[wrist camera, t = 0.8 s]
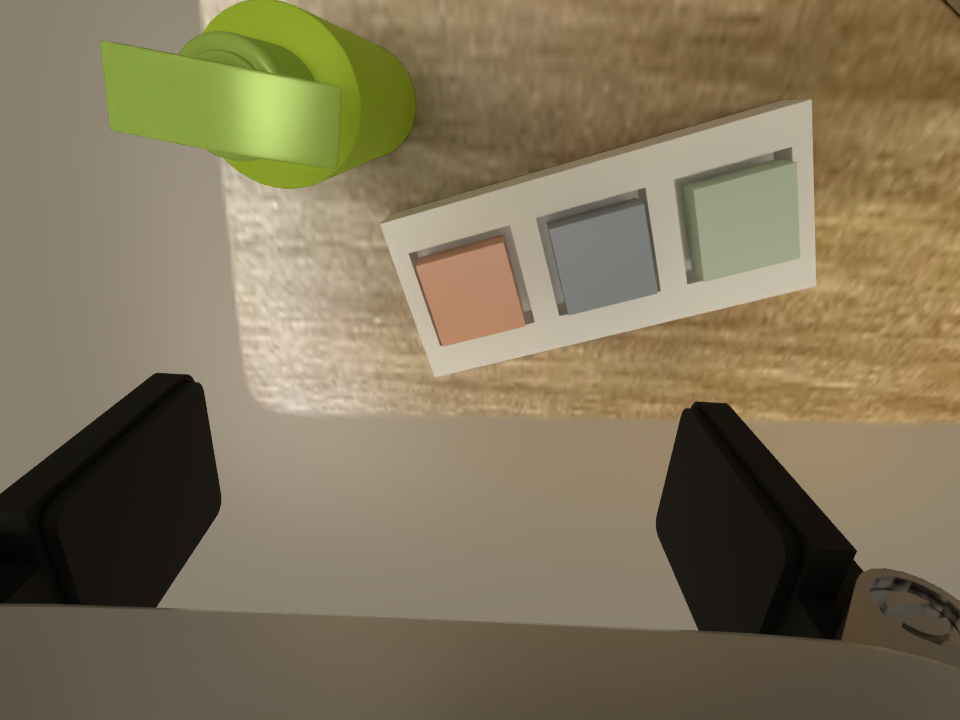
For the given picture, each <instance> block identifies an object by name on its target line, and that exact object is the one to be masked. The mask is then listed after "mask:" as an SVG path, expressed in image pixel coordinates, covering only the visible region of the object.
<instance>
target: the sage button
mask: <svg viewBox="0 0 960 720" xmlns="http://www.w3.org/2000/svg"><path fill="white" fill-rule="evenodd" d="M682 191H683V199H684V207H685V216H686V224H687V232H688V240H689V248H690V256H691V265H692V272H693V273H694V274H695V275H697V276H698V277H699V278H700V279H701V280H702V281H703V282H706V281H710V280H714V279H718V278H722V277H726V276H730V275H734V274H738V273H742V272H746V271H750V270H754V269H759V268H763V267H767V266H771V265H775V264H779V263H783V262H787V261H791V260H795V259H799V258H800V238H799V211H798V183H797V162H793V161H788V160H783V159H775V160H771V161H767V162H764V163H760V164H757V165H753V166H749V167H746V168H742V169H738V170H735V171H731V172H728V173H724V174H720V175H717V176H713V177H709V178H706V179H702V180H699V181H695V182H691V183H688V184H684V185H682Z"/></svg>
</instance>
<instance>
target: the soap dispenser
mask: <svg viewBox="0 0 960 720" xmlns="http://www.w3.org/2000/svg"><path fill="white" fill-rule="evenodd" d="M100 44H101V53H102V62H103V70H104V79H105V88H106V97H107V105H108V114H109V123H110V129H111V130H113V131H118V132H123V133H127V134H132V135H138V136H142V137H147V138H153V139H158V140H162V141H168V142H173V143H177V144H182V145H188V146H193V147H199V148H203V149H206V150H208V151H209V152H211V153H213V154H215V155H217V156H219V157H222V158H224V159H225V160H226V161H227V162H228V163H229V164H230V165H231V166H232V167H234V168H235V169H236V170H238V171H239V172H240V173H242V174H243V175H245V176H247V177H248V178H250V179H252V180H254V181H257V182H259V183H262V184H264V185H268V186H271V187H276V188H285V189H295V188H303V187H307V186H311V185H314V184H317V183H319V182H321V181H324V180H326V179H329V178H331V177H333V176H336V175H338V174H341V173H343V172H345V171H348V170H350V169H352V168H355V167H357V166H360V165H362V164H364V163H367V162H369V161H372V160H374V159H376V158H379V157H381V156H383V155H386V154H388V153H390V152H392V151H393V150H395V149H396V148H397V147H399V146H400V145H401V144H402V143H403V141H404V140H405V139H406V137H407V136H408V134H409V132H410V130H411V128H412V126H413V122H414V119H415V113H416V98H415V92H414V87H413V84H412V81H411V79H410V77H409V75H408V73H407V71H406V69H405V68H404V66H403V65H402V64H401V63H400V61H399V60H398V59H397V58H396V57H395V56H394V55H392V54H391V53H390V52H389V51H387V50H385V49H384V48H382V47H380V46H378V45H376V44H374V43H372V42H369V41H367V40H365V39H363V38H361V37H359V36H357V35H355V34H353V33H351V32H349V31H346V30H344V29H342V28H340V27H338V26H336V25H334V24H332V23H330V22H328V21H326V20H323V19H321V18H319V17H317V16H315V15H313V14H311V13H309V12H307V11H305V10H303V9H301V8H298V7H296V6H294V5H291V4H288V3H285V2H282V1H277V0H248V1H244V2H240V3H237V4H235V5H233V6H231V7H229V8H227V9H225V10H224V11H222V12H221V13H220V14H218V15H217V16H216V17H215V18H214V19H213V20H212V21H211V22H210V23H209V25H208V26H207V27H206V29H205V30H204V32H203V33H202V34H201V35H199V36H197V37H195V38H193V39H192V40H190V41H189V42H188V43H187V44H186V45H185V46H184V47H183V48H182V49H181V51H180V52H179V54H178V55H177V54H173V53H167V52H162V51H157V50H152V49H147V48H141V47H136V46H131V45H126V44H121V43H115V42H109V41H100Z"/></svg>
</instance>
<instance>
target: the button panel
mask: <svg viewBox="0 0 960 720" xmlns="http://www.w3.org/2000/svg"><path fill="white" fill-rule="evenodd" d="M775 159H783V160H788V161H793V162H797V183H798V211H799V238H800V258H799V259H795V260H791V261H787V262H783V263H779V264H775V265H771V266H767V267H763V268H759V269H754V270H750V271H746V272H742V273H738V274H734V275H730V276H726V277H722V278H718V279H714V280H710V281H706V282H703V281H702V280H701V279H700V278H699V277H698V276H697V275H695V274H694V273H693V272H692V265H691V256H690V248H689V240H688V232H687V224H686V216H685V207H684V199H683V191H682V185H684V184H688V183H691V182H695V181H699V180H702V179H706V178H709V177H713V176H717V175H720V174H724V173H728V172H731V171H735V170H738V169H742V168H746V167H749V166H753V165H757V164H760V163H764V162H767V161H771V160H775ZM633 198H636V199H638V200H639V201H641V202H642V203H643V204H644V207H645V213H646V220H647V226H648V233H649V239H650V246H651V252H652V259H653V266H654V272H655V279H656V285H657V292H658V294H654V295H650V296H646V297H642V298H637V299H633V300H629V301H625V302H621V303H617V304H613V305H609V306H605V307H601V308H597V309H593V310H589V311H585V312H581V313H577V314H573V315H568V312H567V309H566V305H565V302H564V297H563V293H562V289H561V284H560V280H559V276H558V271H557V267H556V263H555V258H554V254H553V249H552V245H551V241H550V236H549V232H548V228H547V223H546V222H550V221H554V220H557V219H561V218H565V217H568V216H572V215H575V214H579V213H583V212H586V211H590V210H594V209H597V208H601V207H604V206H608V205H612V204H615V203H619V202H623V201H626V200H630V199H633ZM380 226H381V228H382V231H383V234H384V237H385V240H386V242H387V245H388V248H389V251H390V254H391V256H392V259H393V262H394V265H395V268H396V270H397V273H398V276H399V279H400V282H401V284H402V287H403V290H404V293H405V296H406V298H407V301H408V304H409V307H410V310H411V312H412V315H413V318H414V321H415V324H416V326H417V329H418V332H419V335H420V338H421V340H422V343H423V346H424V349H425V352H426V354H427V357H428V360H429V363H430V366H431V368H432V371H433V374H434V377H439V376H443V375H447V374H451V373H455V372H460V371H464V370H468V369H472V368H476V367H480V366H485V365H489V364H493V363H497V362H501V361H506V360H510V359H514V358H518V357H522V356H526V355H531V354H535V353H539V352H543V351H547V350H552V349H556V348H560V347H564V346H568V345H572V344H577V343H581V342H585V341H589V340H593V339H597V338H602V337H606V336H610V335H614V334H618V333H623V332H627V331H631V330H635V329H639V328H643V327H648V326H652V325H656V324H660V323H664V322H668V321H673V320H677V319H681V318H685V317H689V316H694V315H698V314H702V313H706V312H710V311H714V310H719V309H723V308H727V307H731V306H735V305H739V304H744V303H748V302H752V301H756V300H760V299H765V298H769V297H773V296H777V295H781V294H785V293H790V292H794V291H798V290H802V289H806V288H811V287H815V286H816V257H815V216H814V176H813V135H812V99H800V100H781V101H778V102H774V103H771V104H767V105H764V106H760V107H757V108H753V109H750V110H747V111H743V112H740V113H736V114H733V115H729V116H726V117H723V118H719V119H716V120H712V121H709V122H705V123H702V124H699V125H695V126H692V127H688V128H685V129H681V130H678V131H675V132H671V133H668V134H664V135H661V136H657V137H654V138H650V139H647V140H644V141H640V142H637V143H633V144H630V145H626V146H623V147H620V148H616V149H613V150H609V151H606V152H602V153H599V154H596V155H592V156H589V157H585V158H582V159H578V160H575V161H572V162H568V163H565V164H561V165H558V166H554V167H551V168H548V169H544V170H541V171H537V172H534V173H530V174H527V175H523V176H520V177H517V178H513V179H510V180H506V181H503V182H499V183H496V184H493V185H489V186H486V187H482V188H479V189H475V190H472V191H469V192H465V193H462V194H458V195H455V196H451V197H448V198H445V199H441V200H438V201H434V202H431V203H427V204H424V205H421V206H417V207H414V208H410V209H407V210H403V211H400V212H396V213H393V214H390V215H389V216H388V217H387V218H386V219H385V220H384V221H383V222H382V223H381V224H380ZM499 235H504V239H505V242H506V246H507V250H508V254H509V258H510V261H511V265H512V269H513V273H514V276H515V280H516V284H517V288H518V291H519V295H520V299H521V303H522V307H523V310H524V314H525V324H526V326H525V327H520V328H516V329H512V330H508V331H504V332H500V333H496V334H492V335H488V336H484V337H480V338H476V339H472V340H468V341H464V342H460V343H456V344H452V345H448V346H444V347H443V345H442V343H441V340H440V337H439V334H438V331H437V328H436V325H435V322H434V319H433V316H432V313H431V310H430V307H429V304H428V301H427V299H426V296H425V293H424V290H423V287H422V284H421V281H420V278H419V275H418V272H417V269H416V265H417V263H418V261H419V259H420V257H423V256H427V255H430V254H434V253H438V252H441V251H445V250H449V249H452V248H456V247H459V246H463V245H467V244H470V243H474V242H478V241H481V240H485V239H488V238H492V237H496V236H499Z"/></svg>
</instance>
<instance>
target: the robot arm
mask: <svg viewBox="0 0 960 720" xmlns="http://www.w3.org/2000/svg"><path fill="white" fill-rule="evenodd" d="M946 1H947V2H948V3H949V4H950V5H951V6H952V7H953V8H954V9H955V10H956V11H957V12H958V13H959V14H960V0H946ZM220 506H221V492H220V485H219V479H218V474H217V467H216V462H215V455H214V450H213V443H212V437H211V431H210V426H209V419H208V414H207V407H206V401H205V395H204V390H203V387H202V385H201V384H200V383H197V382H194V380H193V378H192V377H191V376H190V375H186V374H168V373H156V374H154V375H152V376H151V377H149V378H148V379H147V380H146V381H144V382H143V383H142V384H141V385H139V386H138V387H137V388H135V389H134V390H133V391H132V392H130V393H129V394H128V395H126V396H125V397H124V398H123V399H121V400H120V401H119V402H117V403H116V404H115V405H114V406H112V407H111V408H110V409H109V410H107V411H106V412H105V413H103V414H102V415H101V416H99V417H98V418H97V419H96V420H94V421H93V422H92V423H90V425H88V426H87V427H85V428H84V429H83V430H81V431H80V432H79V433H78V434H76V435H75V436H74V437H73V438H71V439H70V440H69V441H67V442H66V443H65V444H64V445H62V446H61V447H60V448H58V449H57V450H56V451H55V452H53V453H52V454H51V455H49V456H48V457H47V458H46V459H44V460H43V461H42V462H40V463H39V464H38V465H37V466H35V467H34V468H33V469H31V470H30V471H29V472H28V473H26V474H25V475H24V476H22V477H21V478H20V479H19V480H18V481H16V482H15V483H14V484H12V485H11V486H10V487H8V488H7V489H6V490H5V491H3V492H2V493H1V494H0V720H960V601H959V600H957V599H956V598H954V597H953V596H952V595H950V594H949V593H947V592H946V591H944V590H943V589H941V588H939V587H937V586H935V585H933V584H931V583H930V582H927V581H926V580H924V579H922V578H919V577H916V576H913V575H910V574H908V573H905V572H902V571H896V570H891V569H886V568H884V569H870V570H867V571H865V572H863V570H862V569H861V568H860V567H859V566H858V565H857V563H856V562H855V561H854V560H853V559H854V556H855V554H856V552H857V550H856V549H855V548H854V547H853V546H852V545H851V543H850V542H849V541H848V540H847V539H846V538H845V537H844V536H843V534H842V533H841V532H840V531H839V530H838V529H837V528H836V526H835V525H834V524H833V523H832V522H831V521H830V520H829V518H828V517H827V516H826V515H825V514H824V513H823V512H822V510H821V509H820V508H819V507H818V506H817V505H816V504H815V502H814V501H813V500H812V499H811V498H810V497H809V496H808V495H807V493H806V492H805V491H804V490H803V489H802V488H801V487H800V485H799V484H798V483H797V482H796V481H795V480H794V479H793V477H792V476H791V475H790V474H789V473H788V472H787V471H786V470H785V468H784V467H783V466H782V465H781V464H780V463H779V462H778V460H777V459H776V458H775V457H774V456H773V455H772V454H771V453H770V451H769V450H768V449H767V448H766V447H765V446H764V444H762V442H761V441H760V440H759V439H758V438H757V437H756V435H755V434H754V433H753V432H752V431H751V430H750V429H749V427H748V426H747V425H746V424H745V423H744V422H743V421H742V419H741V418H740V417H739V416H738V415H737V414H736V413H735V411H734V410H733V409H732V408H731V407H730V406H729V405H728V404H727V403H712V402H695V403H694V404H693V405H692V407H691V409H690V408H686V409H684V410H683V412H682V415H681V418H680V422H679V426H678V430H677V435H676V439H675V443H674V447H673V451H672V455H671V459H670V463H669V467H668V471H667V476H666V480H665V484H664V488H663V492H662V496H661V500H660V505H659V509H658V512H657V517H656V530H657V534H658V537H659V540H660V542H661V544H662V547H663V549H664V551H665V554H666V556H667V558H668V561H669V563H670V565H671V567H672V570H673V572H674V574H675V577H676V579H677V581H678V584H679V586H680V588H681V591H682V593H683V595H684V598H685V600H686V602H687V604H688V607H689V609H690V612H691V614H692V616H693V619H694V621H695V623H696V625H697V628H698V630H699V631H694V630H673V629H650V628H630V627H610V626H609V627H608V626H589V625H566V624H543V623H520V622H496V621H473V620H449V619H426V618H402V617H376V616H354V615H330V614H305V613H281V612H257V611H233V610H232V611H231V610H203V609H178V608H156V607H157V605H158V604H159V602H160V601H161V599H162V598H163V596H164V595H165V593H166V592H167V590H168V589H169V587H170V586H171V584H172V583H173V581H174V580H175V578H176V577H177V575H178V574H179V572H180V571H181V569H182V568H183V566H184V565H185V563H186V562H187V560H188V559H189V557H190V555H191V554H192V553H193V551H194V549H195V548H196V547H197V545H198V544H199V542H200V541H201V539H202V538H203V536H204V535H205V533H206V532H207V530H208V529H209V527H210V525H211V524H212V522H213V521H214V519H215V518H216V516H217V515H218V512H219V510H220Z"/></svg>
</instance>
